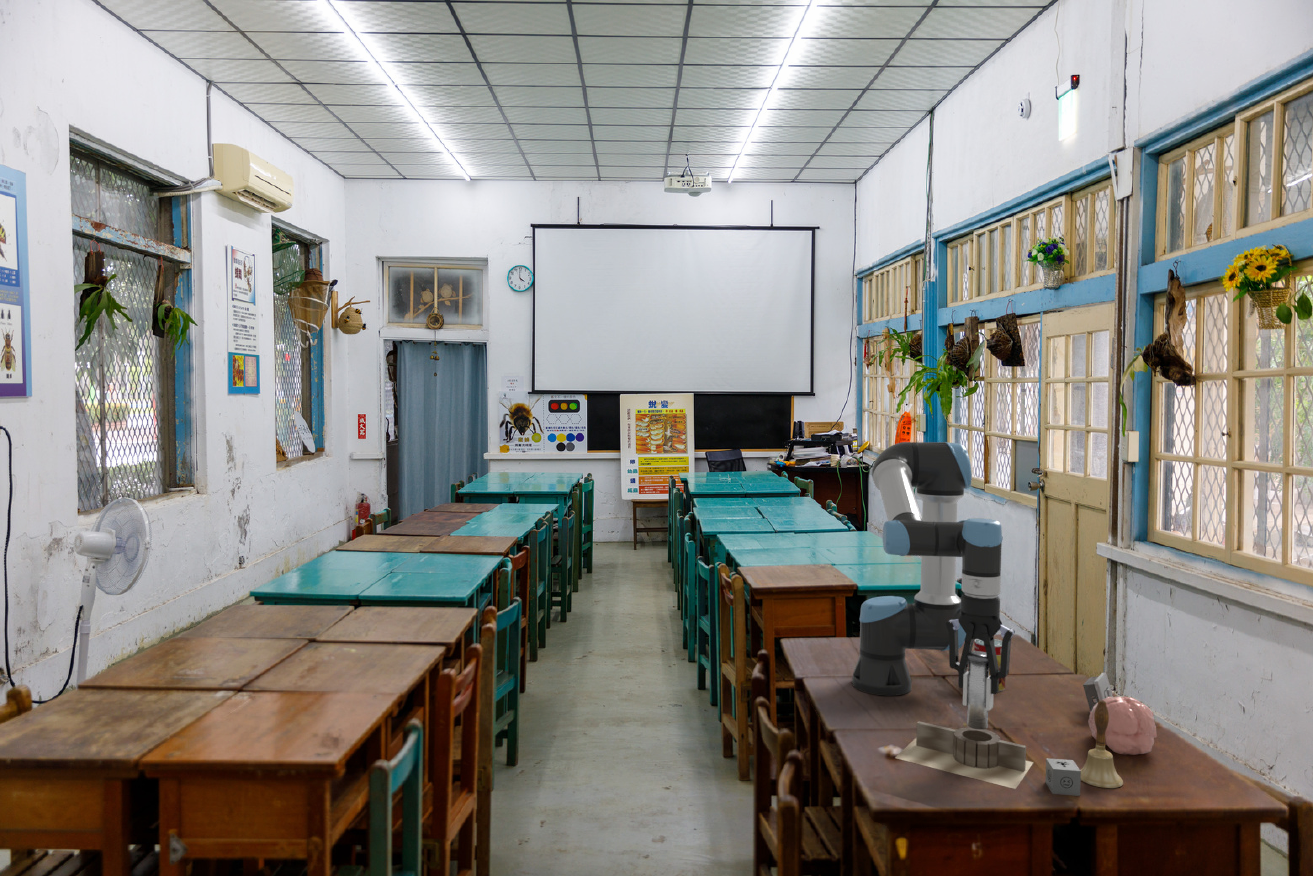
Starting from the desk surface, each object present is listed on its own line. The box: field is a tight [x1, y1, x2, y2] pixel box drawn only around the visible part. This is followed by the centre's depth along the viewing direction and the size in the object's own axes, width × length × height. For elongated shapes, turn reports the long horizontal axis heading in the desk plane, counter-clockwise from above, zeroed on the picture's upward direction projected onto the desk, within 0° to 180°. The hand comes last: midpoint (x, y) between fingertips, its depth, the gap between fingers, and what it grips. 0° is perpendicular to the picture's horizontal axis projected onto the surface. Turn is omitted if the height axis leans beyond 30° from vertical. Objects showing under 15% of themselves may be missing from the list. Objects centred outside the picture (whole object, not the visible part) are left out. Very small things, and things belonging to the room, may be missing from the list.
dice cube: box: [1045, 758, 1082, 797], centre depth 169 cm, size 5×5×5 cm
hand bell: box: [1080, 700, 1124, 789], centre depth 174 cm, size 8×8×16 cm
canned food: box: [973, 638, 1006, 693], centre depth 229 cm, size 8×8×12 cm
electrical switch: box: [1082, 672, 1114, 713], centre depth 210 cm, size 9×5×9 cm, turn 141°
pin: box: [966, 650, 989, 730], centre depth 179 cm, size 5×5×15 cm
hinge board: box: [894, 721, 1034, 790], centre depth 180 cm, size 24×15×6 cm, turn 54°
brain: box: [1088, 695, 1158, 756], centre depth 190 cm, size 16×13×12 cm
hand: (977, 705), depth 180 cm, fingers closed on pin, 4 cm apart
